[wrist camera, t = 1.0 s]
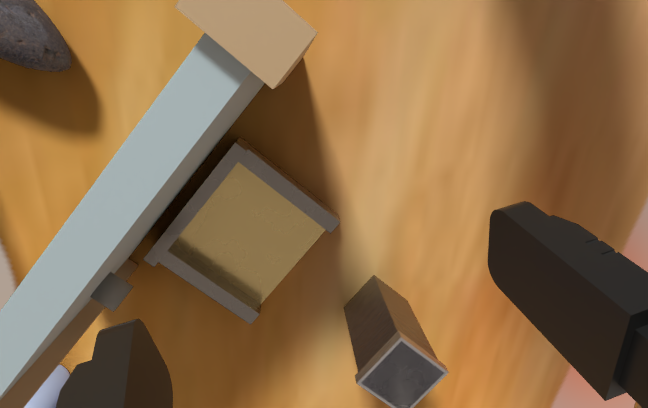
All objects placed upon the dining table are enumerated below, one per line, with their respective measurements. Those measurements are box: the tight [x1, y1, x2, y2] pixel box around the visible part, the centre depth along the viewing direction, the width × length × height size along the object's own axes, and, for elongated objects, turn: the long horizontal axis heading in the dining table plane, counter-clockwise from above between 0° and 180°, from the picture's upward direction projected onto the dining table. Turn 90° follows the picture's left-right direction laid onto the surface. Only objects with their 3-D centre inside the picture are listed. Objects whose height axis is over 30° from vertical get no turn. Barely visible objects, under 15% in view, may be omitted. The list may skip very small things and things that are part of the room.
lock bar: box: [344, 275, 449, 408], centre depth 34 cm, size 4×4×10 cm
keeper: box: [143, 137, 340, 324], centre depth 35 cm, size 11×10×3 cm
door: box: [0, 0, 318, 408], centre depth 25 cm, size 24×5×19 cm, turn 140°
